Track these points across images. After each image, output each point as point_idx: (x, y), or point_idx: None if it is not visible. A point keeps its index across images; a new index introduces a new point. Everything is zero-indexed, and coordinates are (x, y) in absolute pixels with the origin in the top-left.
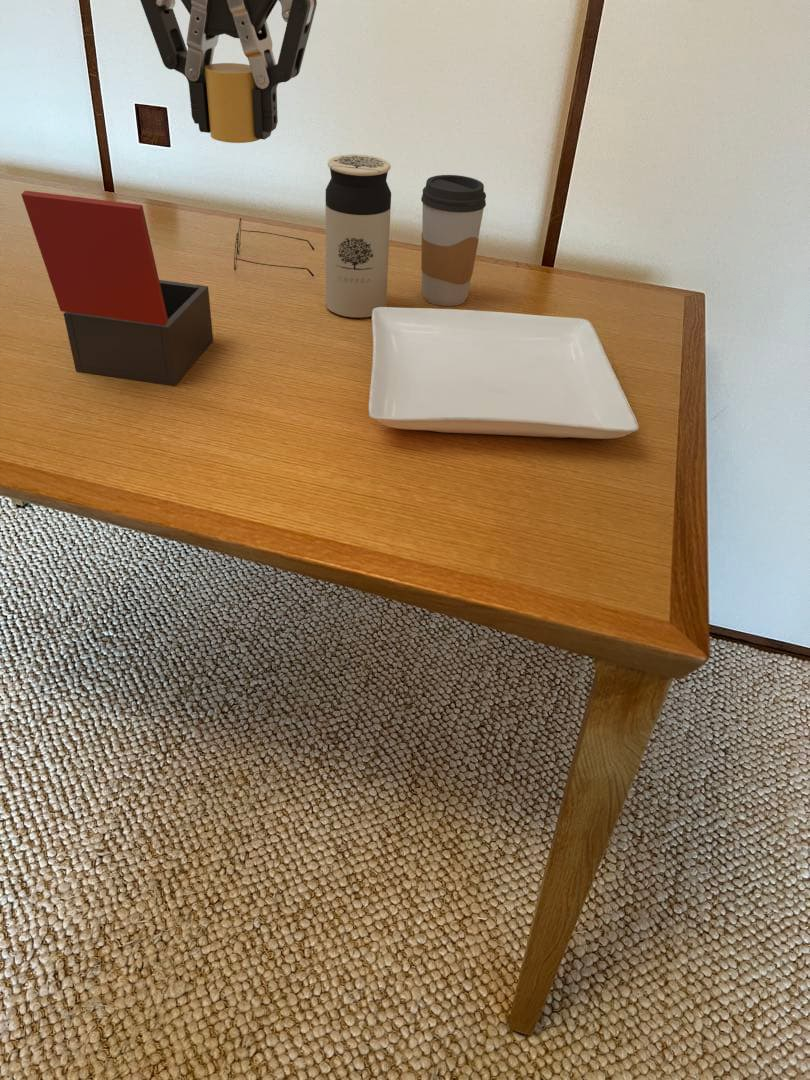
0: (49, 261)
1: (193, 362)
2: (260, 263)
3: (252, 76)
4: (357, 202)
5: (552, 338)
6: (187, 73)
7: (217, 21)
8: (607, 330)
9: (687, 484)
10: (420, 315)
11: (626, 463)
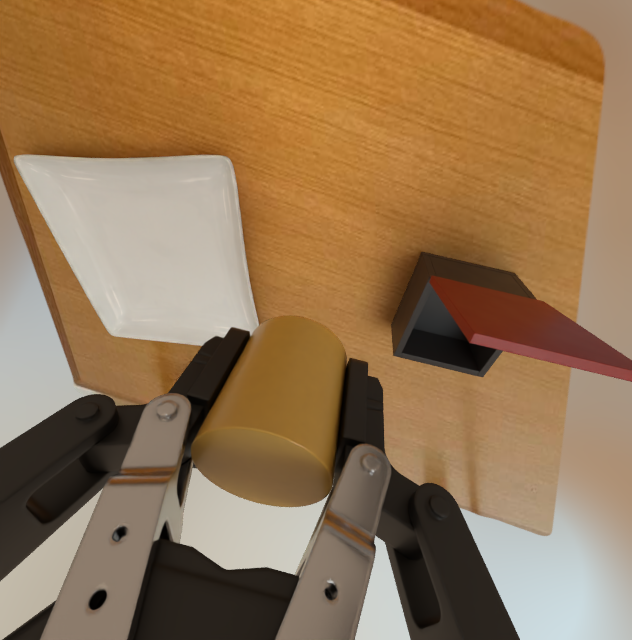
0: (575, 325)
1: (406, 288)
2: None
3: (198, 432)
4: None
5: (136, 320)
6: (383, 465)
7: (234, 630)
8: (112, 340)
9: None
10: None
11: (39, 145)
